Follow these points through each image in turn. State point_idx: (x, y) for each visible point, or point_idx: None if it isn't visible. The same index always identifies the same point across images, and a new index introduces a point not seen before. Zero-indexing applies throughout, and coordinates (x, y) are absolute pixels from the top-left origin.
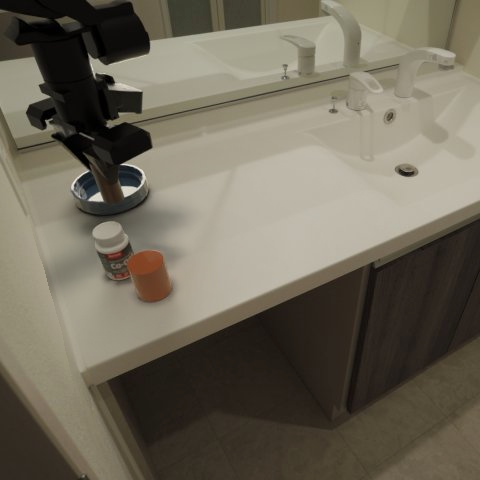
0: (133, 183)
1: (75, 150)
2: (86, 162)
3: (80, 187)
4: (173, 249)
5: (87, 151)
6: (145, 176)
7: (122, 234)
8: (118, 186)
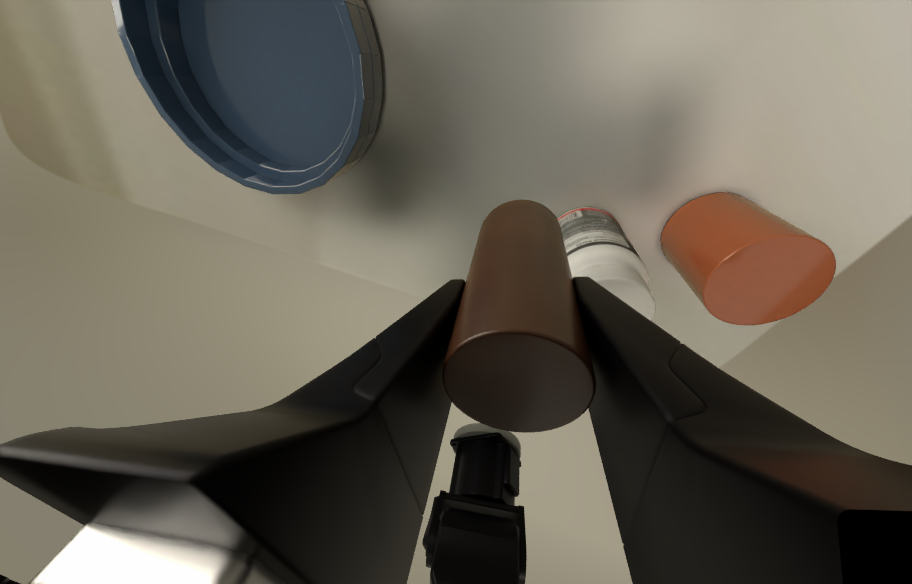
0: None
1: (416, 510)
2: (446, 398)
3: (219, 141)
4: (653, 95)
5: None
6: None
7: (646, 285)
8: (565, 254)
